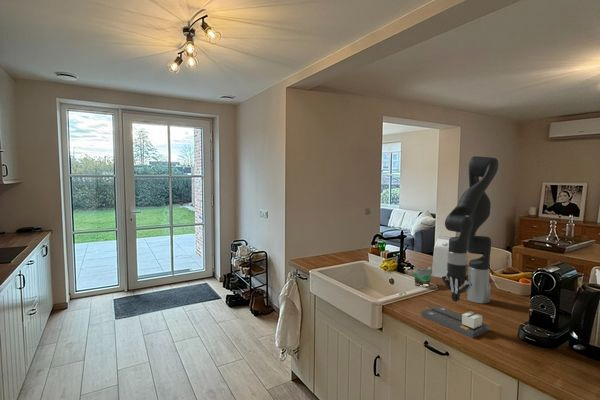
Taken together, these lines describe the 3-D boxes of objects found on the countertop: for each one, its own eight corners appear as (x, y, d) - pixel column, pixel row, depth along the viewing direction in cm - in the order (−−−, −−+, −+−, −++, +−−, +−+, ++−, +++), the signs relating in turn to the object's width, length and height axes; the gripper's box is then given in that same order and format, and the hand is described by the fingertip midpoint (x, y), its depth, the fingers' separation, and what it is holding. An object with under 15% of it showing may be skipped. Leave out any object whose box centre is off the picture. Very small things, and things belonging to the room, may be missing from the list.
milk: (454, 274, 207) (456, 234, 205) (452, 279, 197) (453, 237, 195) (434, 271, 213) (436, 232, 211) (431, 275, 203) (432, 235, 201)
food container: (421, 289, 180) (422, 271, 179) (413, 285, 185) (413, 268, 184) (436, 285, 186) (437, 268, 185) (427, 282, 191) (428, 266, 190)
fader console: (421, 315, 146) (421, 311, 146) (437, 309, 153) (437, 305, 152) (472, 338, 126) (472, 333, 126) (489, 330, 132) (489, 325, 132)
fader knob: (461, 323, 133) (462, 314, 133) (470, 320, 136) (470, 310, 136) (473, 328, 129) (474, 318, 128) (481, 324, 132) (482, 315, 131)
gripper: (437, 259, 140) (436, 297, 142) (466, 267, 129) (465, 308, 131) (448, 256, 144) (447, 294, 146) (477, 264, 133) (475, 304, 135)
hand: (455, 300), depth 138 cm, fingers closed
